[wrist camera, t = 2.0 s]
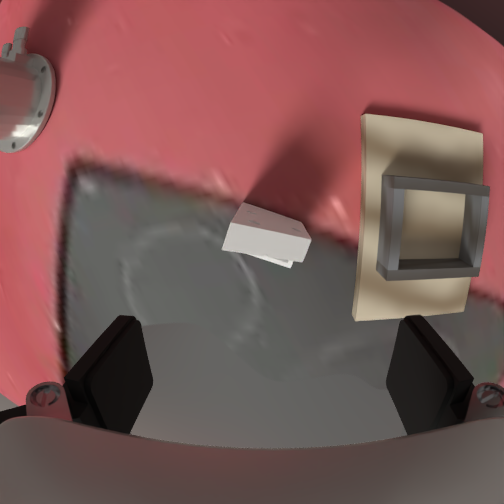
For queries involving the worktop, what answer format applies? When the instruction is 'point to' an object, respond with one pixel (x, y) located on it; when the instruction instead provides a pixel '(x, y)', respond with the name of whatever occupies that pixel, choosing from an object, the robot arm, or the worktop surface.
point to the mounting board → (418, 218)
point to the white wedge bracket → (267, 236)
